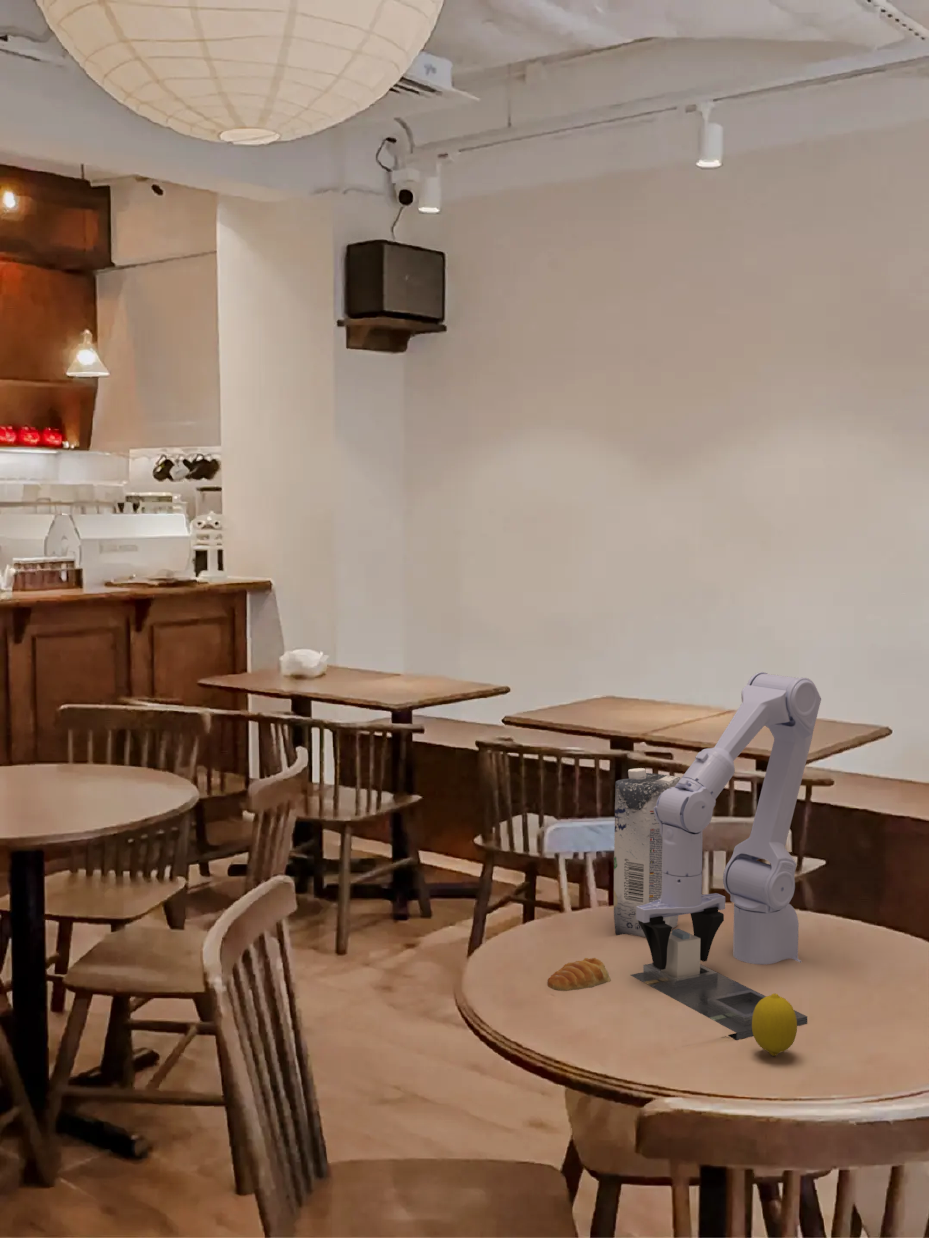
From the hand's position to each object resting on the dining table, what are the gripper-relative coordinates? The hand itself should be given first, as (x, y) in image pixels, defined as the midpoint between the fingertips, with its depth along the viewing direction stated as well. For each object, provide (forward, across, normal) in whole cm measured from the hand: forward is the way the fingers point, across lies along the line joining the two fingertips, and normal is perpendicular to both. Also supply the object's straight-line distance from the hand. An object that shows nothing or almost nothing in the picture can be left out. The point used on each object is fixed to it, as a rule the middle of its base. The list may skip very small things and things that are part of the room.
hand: (680, 963), depth 188 cm
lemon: (+3, +5, +26) cm, 27 cm away
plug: (+2, 0, 0) cm, 2 cm away
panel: (+3, 0, +8) cm, 9 cm away
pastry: (+3, +14, -6) cm, 15 cm away
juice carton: (+3, -9, -21) cm, 23 cm away
